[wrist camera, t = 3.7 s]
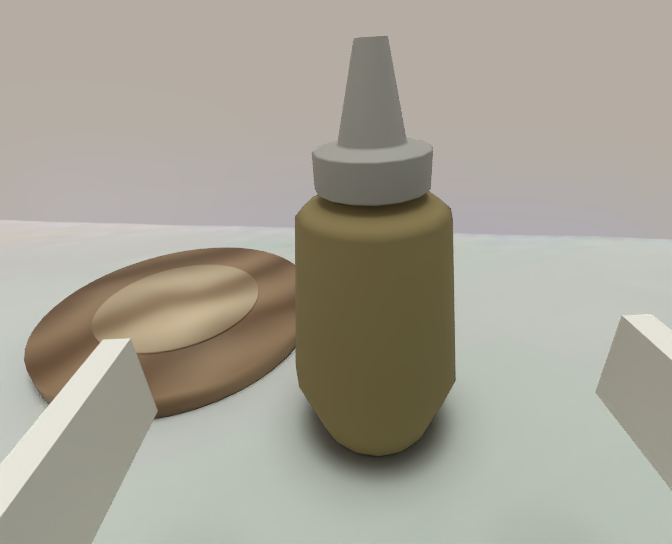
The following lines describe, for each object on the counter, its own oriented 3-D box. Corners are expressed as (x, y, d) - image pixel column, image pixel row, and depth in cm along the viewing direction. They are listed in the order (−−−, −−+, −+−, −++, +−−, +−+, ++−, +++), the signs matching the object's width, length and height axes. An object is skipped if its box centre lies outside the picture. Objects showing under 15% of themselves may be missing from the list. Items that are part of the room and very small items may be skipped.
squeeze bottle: (459, 380, 24) (503, 31, 15) (435, 504, 17) (487, 21, 9) (335, 351, 27) (314, 45, 18) (275, 449, 20) (198, 45, 12)
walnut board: (364, 311, 31) (364, 292, 30) (82, 492, 19) (69, 469, 18) (228, 244, 44) (225, 229, 43) (9, 326, 32) (-1, 308, 31)
